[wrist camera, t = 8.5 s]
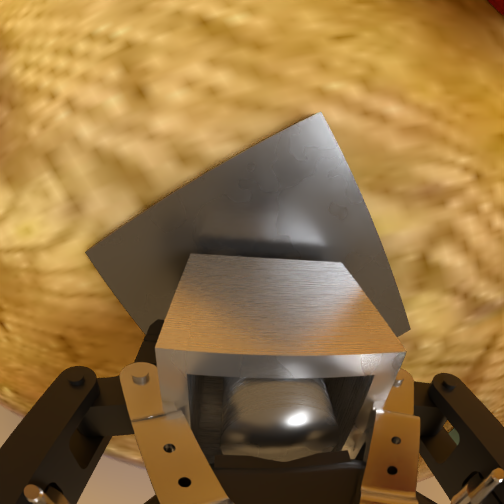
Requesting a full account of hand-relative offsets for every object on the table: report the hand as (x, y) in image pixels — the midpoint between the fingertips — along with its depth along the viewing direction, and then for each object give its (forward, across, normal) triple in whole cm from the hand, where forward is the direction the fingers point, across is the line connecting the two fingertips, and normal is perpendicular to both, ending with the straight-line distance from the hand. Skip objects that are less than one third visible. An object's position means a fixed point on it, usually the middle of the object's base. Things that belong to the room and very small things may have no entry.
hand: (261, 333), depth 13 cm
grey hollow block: (+1, 0, +2) cm, 2 cm away
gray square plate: (+3, 0, -1) cm, 3 cm away
